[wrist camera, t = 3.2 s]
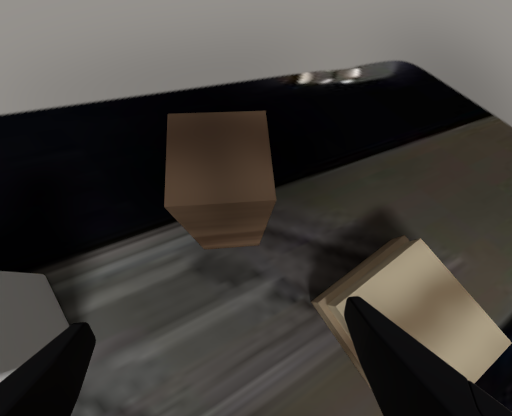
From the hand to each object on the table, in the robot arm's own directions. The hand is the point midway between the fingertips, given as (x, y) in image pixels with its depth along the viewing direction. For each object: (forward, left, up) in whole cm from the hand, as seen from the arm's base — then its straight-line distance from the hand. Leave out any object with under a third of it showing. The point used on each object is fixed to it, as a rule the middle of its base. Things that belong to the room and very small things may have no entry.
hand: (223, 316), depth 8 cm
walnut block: (+6, -3, -13) cm, 15 cm away
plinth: (-9, -10, -13) cm, 19 cm away
